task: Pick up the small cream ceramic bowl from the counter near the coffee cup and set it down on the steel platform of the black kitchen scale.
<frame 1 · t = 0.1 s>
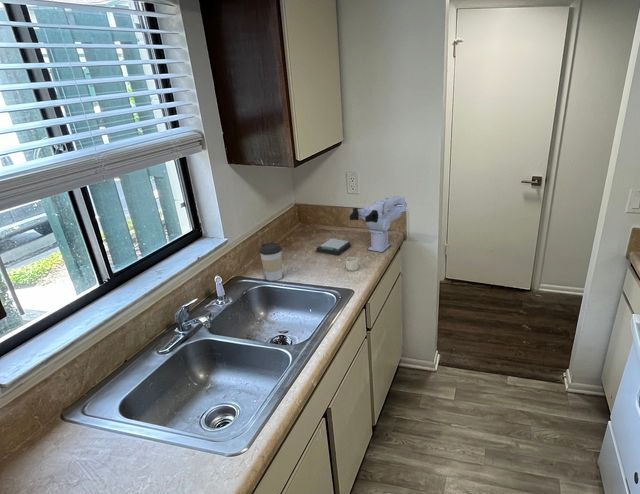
hand: (358, 218, 190), 22 cm above the worktop, tool horizontal, fingers open, 7 cm apart
coffee cup: (274, 277, 187), on the worktop
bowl: (352, 268, 194), on the worktop
scale: (333, 248, 214), on the worktop
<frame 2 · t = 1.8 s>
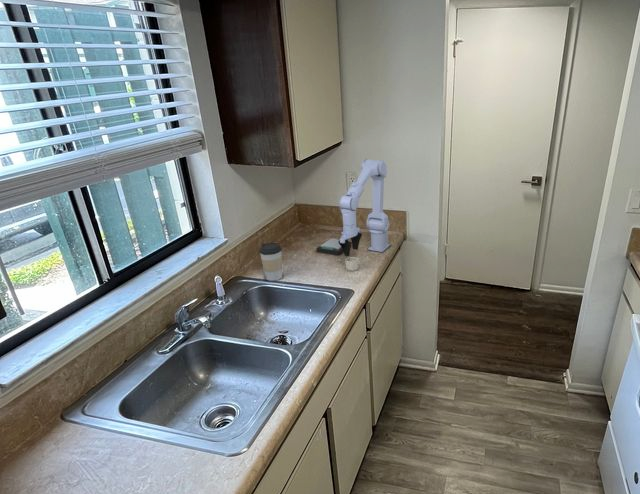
hand: (351, 252, 191), 8 cm above the worktop, tool pointing down, fingers open, 7 cm apart
nothing on the worktop moved.
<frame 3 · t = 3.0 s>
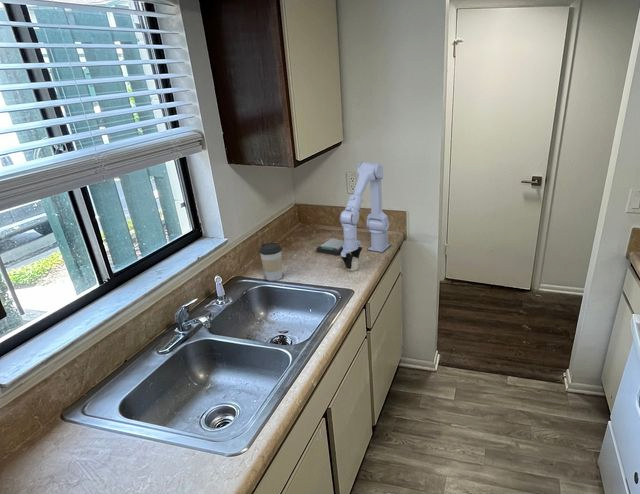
hand: (352, 265, 194), 1 cm above the worktop, tool pointing down, fingers closed on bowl, 5 cm apart
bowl: (352, 268, 194), on the worktop, touching gripper
everything else where it was.
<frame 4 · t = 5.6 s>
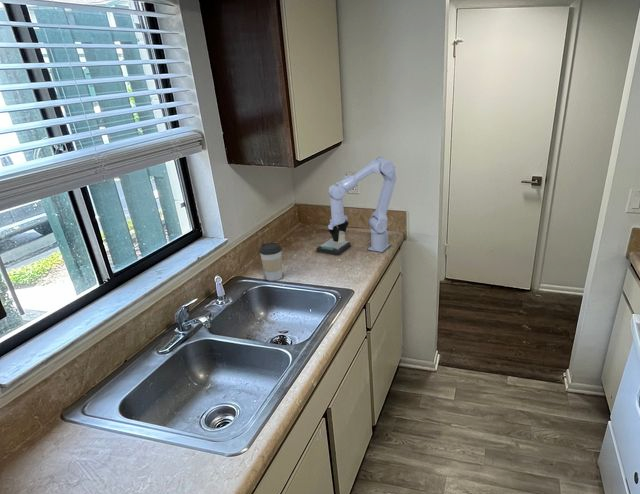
hand: (339, 238, 204), 8 cm above the worktop, tool pointing down, fingers closed on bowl, 5 cm apart
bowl: (339, 241, 204), point 7 cm above the worktop, touching gripper
everything else where it was.
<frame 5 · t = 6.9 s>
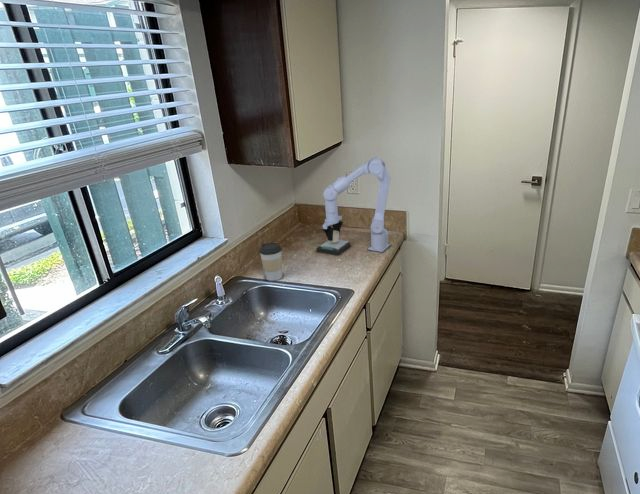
hand: (333, 238, 213), 6 cm above the worktop, tool pointing down, fingers closed on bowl, 5 cm apart
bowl: (333, 240, 213), point 4 cm above the worktop, touching gripper
everything else where it was.
when the fingers open (4 cm above the worktop, at t = 8.0 s): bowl stays where it is, resting on scale.
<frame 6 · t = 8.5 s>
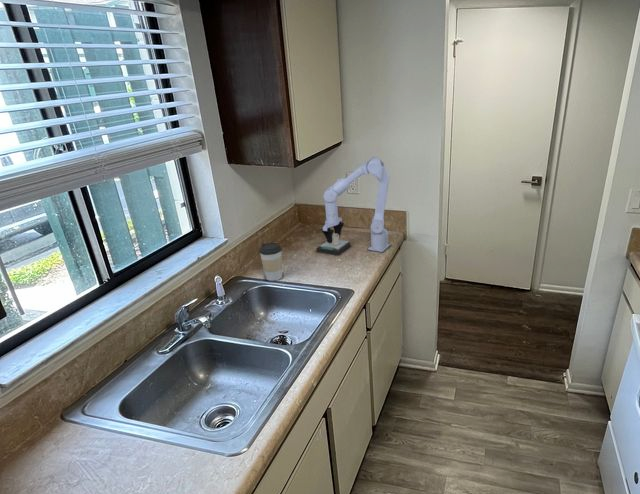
hand: (333, 239, 213), 5 cm above the worktop, tool pointing down, fingers open, 7 cm apart
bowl: (333, 243, 214), point 3 cm above the worktop, touching scale
everything else where it was.
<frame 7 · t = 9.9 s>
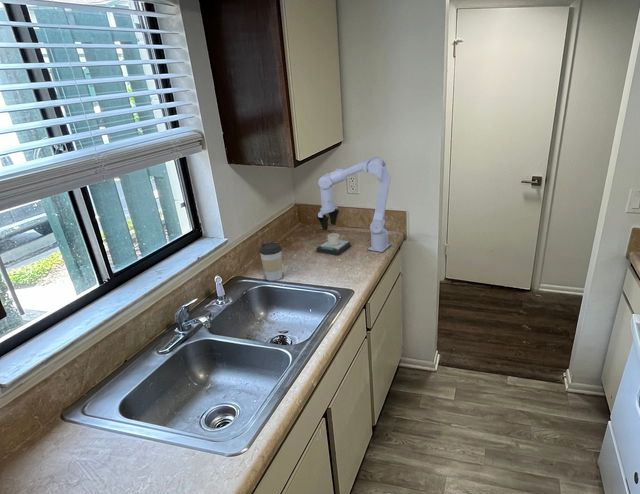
hand: (329, 226, 213), 10 cm above the worktop, tool pointing down, fingers open, 7 cm apart
nothing on the worktop moved.
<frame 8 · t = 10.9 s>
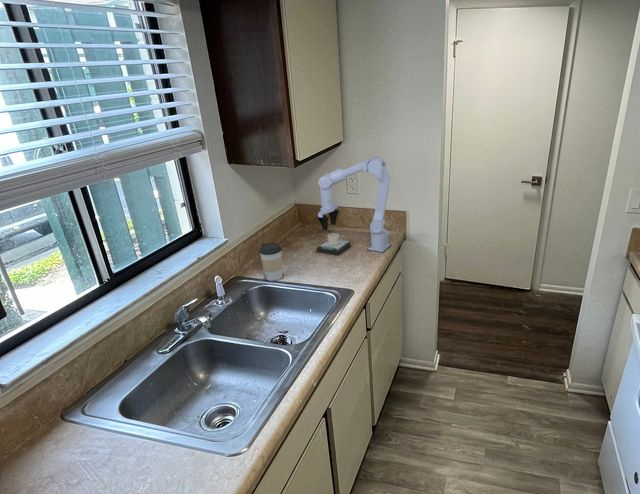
hand: (329, 226, 213), 10 cm above the worktop, tool pointing down, fingers open, 7 cm apart
nothing on the worktop moved.
at the end: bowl inside the target area on the scale (0.5 cm from its centre), point 2.6 cm above the scale's base; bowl tilted 0°; the gripper is holding nothing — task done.
